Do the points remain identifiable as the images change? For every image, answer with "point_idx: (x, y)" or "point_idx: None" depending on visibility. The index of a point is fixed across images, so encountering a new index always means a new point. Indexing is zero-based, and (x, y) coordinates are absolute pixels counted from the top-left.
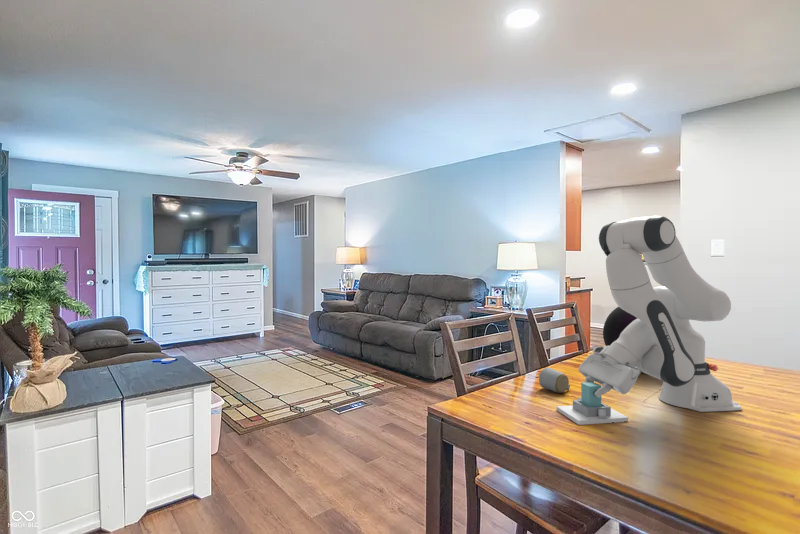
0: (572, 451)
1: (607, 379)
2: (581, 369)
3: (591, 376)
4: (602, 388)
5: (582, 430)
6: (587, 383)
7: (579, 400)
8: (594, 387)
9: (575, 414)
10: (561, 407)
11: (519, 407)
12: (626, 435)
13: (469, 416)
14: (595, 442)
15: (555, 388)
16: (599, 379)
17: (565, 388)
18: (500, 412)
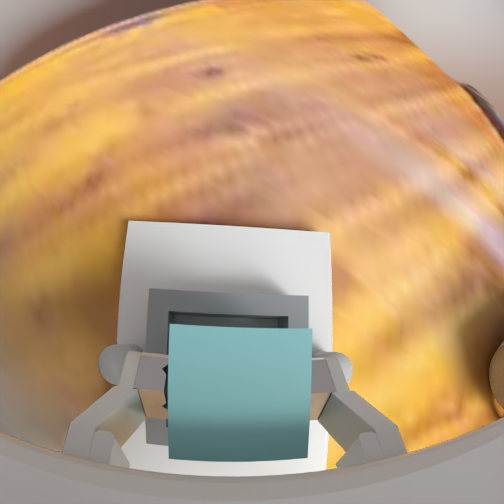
0: (12, 106)
1: (45, 479)
2: (501, 431)
3: (345, 468)
4: (90, 407)
5: (84, 207)
6: (275, 377)
7: None
8: (168, 382)
9: (205, 257)
10: (312, 247)
11: (361, 121)
12: (8, 347)
13: (291, 2)
14: (7, 192)
15: (501, 345)
16: (175, 474)
17: (500, 397)
18: (315, 55)
